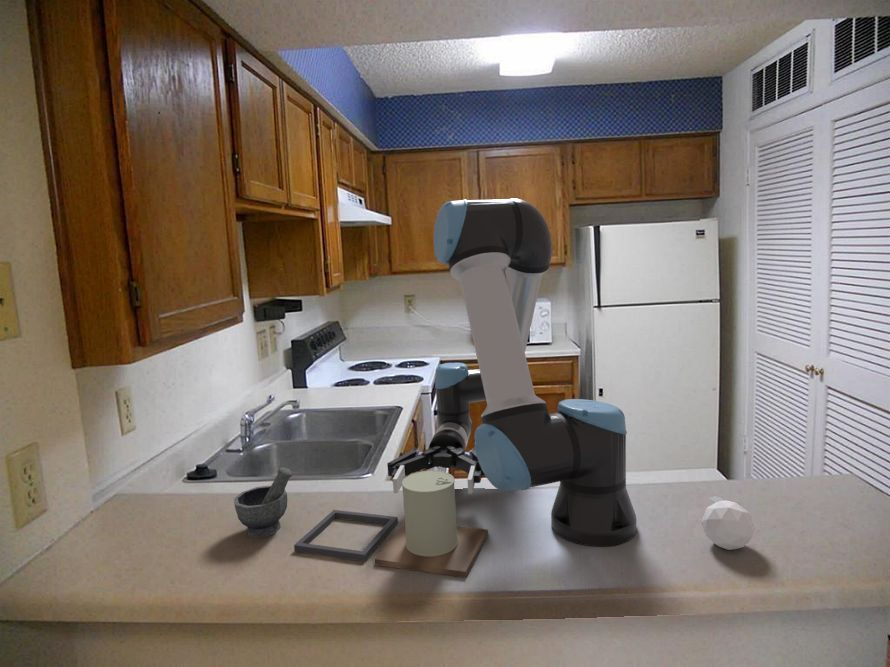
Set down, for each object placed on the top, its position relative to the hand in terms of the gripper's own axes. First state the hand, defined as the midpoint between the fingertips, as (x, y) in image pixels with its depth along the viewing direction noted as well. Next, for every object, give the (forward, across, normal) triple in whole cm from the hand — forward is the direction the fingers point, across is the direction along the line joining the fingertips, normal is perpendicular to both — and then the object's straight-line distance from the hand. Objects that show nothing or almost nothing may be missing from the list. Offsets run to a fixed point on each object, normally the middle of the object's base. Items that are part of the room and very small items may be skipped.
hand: (432, 486), depth 102 cm
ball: (0, -50, -10) cm, 51 cm away
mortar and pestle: (-2, +33, -10) cm, 35 cm away
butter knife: (-7, -56, -10) cm, 57 cm away
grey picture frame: (0, +16, -10) cm, 19 cm away
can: (+4, 0, -9) cm, 10 cm away
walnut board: (+4, 0, -10) cm, 11 cm away
